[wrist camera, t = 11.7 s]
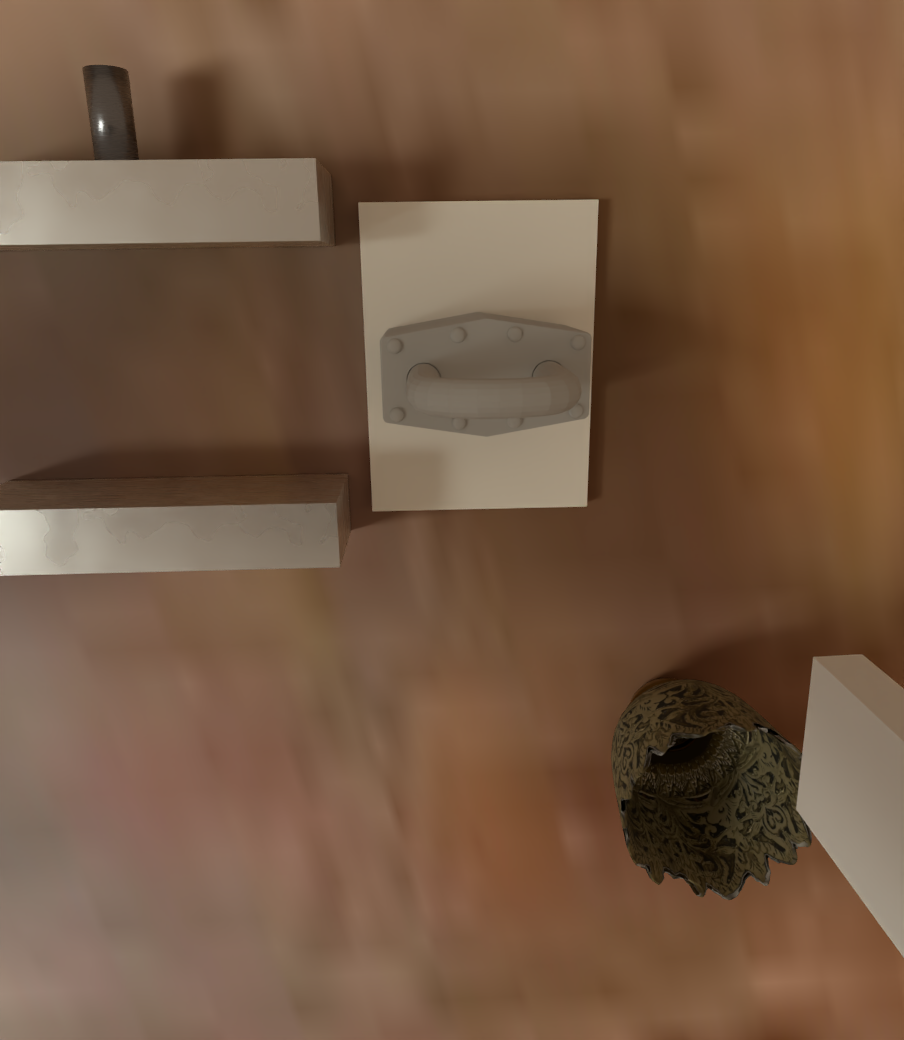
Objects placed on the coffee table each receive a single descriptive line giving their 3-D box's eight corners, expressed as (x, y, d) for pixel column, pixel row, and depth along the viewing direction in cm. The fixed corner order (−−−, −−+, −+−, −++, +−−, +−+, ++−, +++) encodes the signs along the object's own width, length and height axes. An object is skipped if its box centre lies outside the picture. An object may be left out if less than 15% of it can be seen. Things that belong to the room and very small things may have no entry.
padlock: (568, 309, 31) (632, 324, 21) (565, 412, 32) (625, 470, 22) (385, 313, 30) (367, 329, 21) (389, 416, 32) (374, 475, 22)
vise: (19, 537, 33) (-41, 576, 29) (-64, 89, 28) (-152, 55, 24) (350, 530, 34) (340, 567, 29) (326, 86, 29) (309, 52, 24)
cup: (554, 739, 37) (587, 860, 29) (632, 609, 35) (689, 701, 27) (688, 796, 38) (754, 926, 31) (771, 672, 36) (863, 777, 29)
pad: (373, 507, 33) (372, 511, 33) (359, 203, 30) (358, 202, 29) (584, 502, 34) (586, 506, 33) (595, 200, 30) (598, 199, 29)
